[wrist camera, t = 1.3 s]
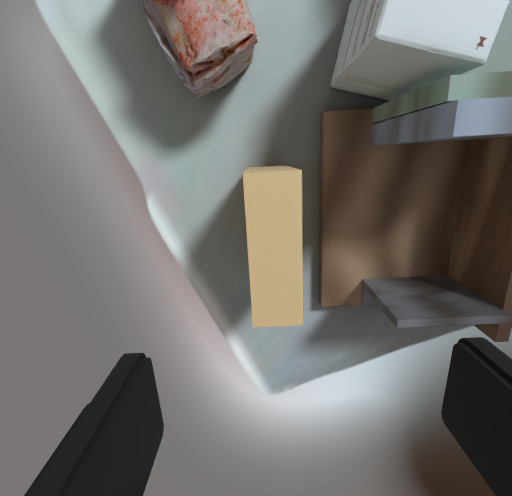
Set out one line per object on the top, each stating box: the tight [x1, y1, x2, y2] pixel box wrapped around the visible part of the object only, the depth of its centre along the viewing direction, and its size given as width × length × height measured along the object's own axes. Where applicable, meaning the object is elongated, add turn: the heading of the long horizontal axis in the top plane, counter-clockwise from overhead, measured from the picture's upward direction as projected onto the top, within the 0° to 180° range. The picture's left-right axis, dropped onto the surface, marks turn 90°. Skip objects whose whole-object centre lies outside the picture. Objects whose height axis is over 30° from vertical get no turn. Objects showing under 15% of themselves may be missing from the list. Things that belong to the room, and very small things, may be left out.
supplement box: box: [330, 0, 509, 101], centre depth 22 cm, size 7×7×13 cm
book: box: [243, 165, 303, 327], centre depth 27 cm, size 4×12×13 cm, turn 3°
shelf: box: [319, 71, 512, 342], centre depth 26 cm, size 16×22×14 cm
